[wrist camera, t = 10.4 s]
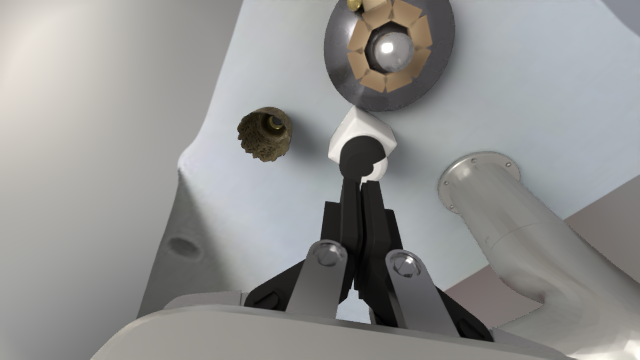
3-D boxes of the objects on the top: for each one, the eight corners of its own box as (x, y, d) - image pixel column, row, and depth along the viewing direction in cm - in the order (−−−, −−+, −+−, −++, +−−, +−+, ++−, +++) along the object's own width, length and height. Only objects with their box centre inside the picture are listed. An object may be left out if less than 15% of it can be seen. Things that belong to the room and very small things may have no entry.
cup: (271, 147, 43) (256, 169, 37) (246, 110, 40) (226, 126, 33) (307, 130, 41) (299, 150, 34) (284, 89, 38) (270, 102, 31)
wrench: (434, 69, 31) (452, 77, 26) (364, 99, 34) (366, 113, 29) (398, -93, 24) (413, -130, 19) (313, -37, 27) (304, -55, 22)
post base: (456, 78, 35) (490, 94, 26) (350, 121, 39) (351, 147, 31) (430, -60, 28) (467, -99, 19) (306, 13, 32) (291, 8, 24)
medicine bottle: (329, 139, 41) (323, 174, 31) (354, 102, 38) (356, 129, 28) (364, 160, 43) (369, 200, 33) (391, 127, 39) (405, 161, 29)
